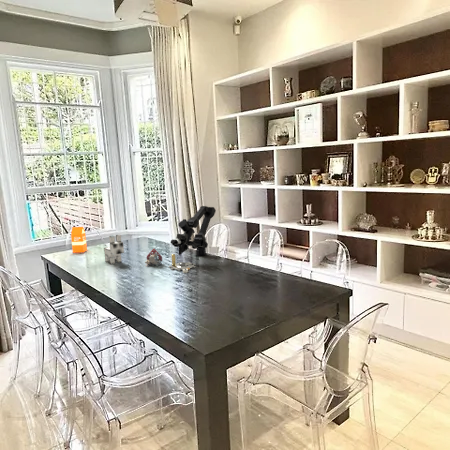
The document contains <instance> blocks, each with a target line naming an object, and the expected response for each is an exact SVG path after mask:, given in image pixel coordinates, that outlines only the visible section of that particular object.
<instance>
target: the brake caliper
mask: <svg viewBox="0 0 450 450" xmlns="http://www.w3.org/2000/svg"><path fill="white" fill-rule="evenodd" d="M162 262H163V256H162V255H161V254H160V253H159V252H158V250H156V249H155V248H153V249H152V250H151V251H150V252H149V253H148V254H147V255H146V261H145V262H144V263H145V264H146V265H145V267H148V266H153V267H154V266H160V265H161V263H162Z"/></svg>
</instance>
